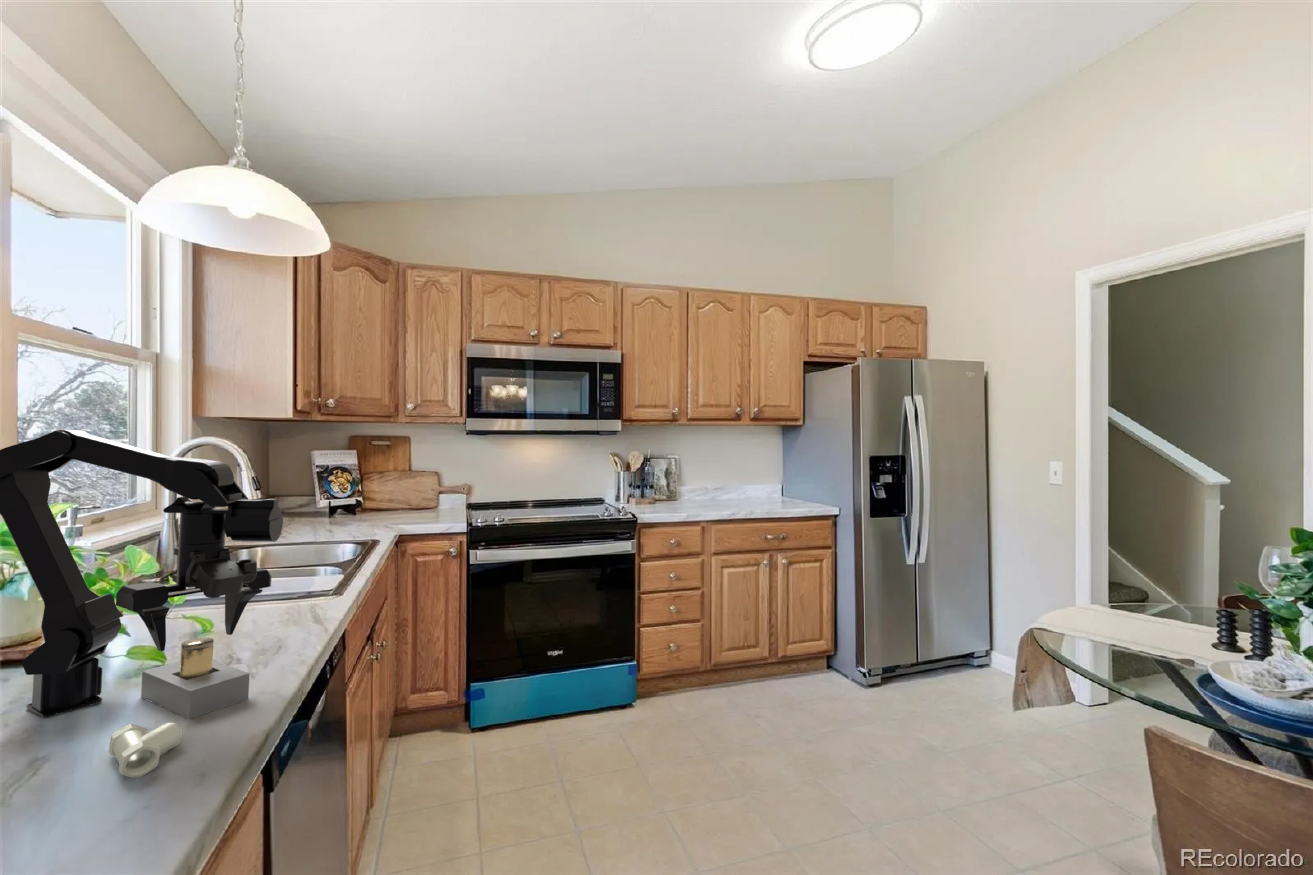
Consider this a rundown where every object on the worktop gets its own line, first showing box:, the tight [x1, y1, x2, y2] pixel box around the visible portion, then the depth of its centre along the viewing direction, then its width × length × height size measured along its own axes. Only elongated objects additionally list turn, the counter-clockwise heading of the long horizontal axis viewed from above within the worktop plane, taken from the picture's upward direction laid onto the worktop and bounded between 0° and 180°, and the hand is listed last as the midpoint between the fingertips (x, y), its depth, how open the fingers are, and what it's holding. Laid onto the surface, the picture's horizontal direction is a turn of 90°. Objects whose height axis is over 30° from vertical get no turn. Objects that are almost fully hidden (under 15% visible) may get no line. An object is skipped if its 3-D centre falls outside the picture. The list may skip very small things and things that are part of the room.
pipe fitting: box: [108, 722, 183, 779], centre depth 75 cm, size 8×4×7 cm
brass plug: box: [179, 637, 215, 680], centre depth 92 cm, size 4×4×8 cm
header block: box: [140, 659, 250, 720], centre depth 92 cm, size 8×14×4 cm, turn 63°
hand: (196, 642), depth 92 cm, fingers open, 9 cm apart
